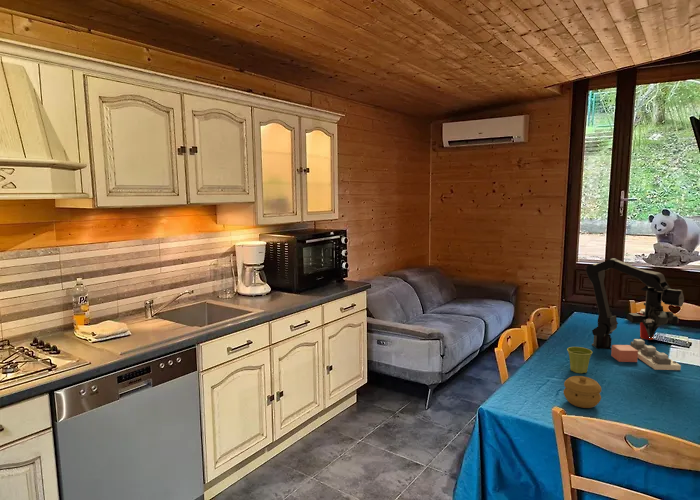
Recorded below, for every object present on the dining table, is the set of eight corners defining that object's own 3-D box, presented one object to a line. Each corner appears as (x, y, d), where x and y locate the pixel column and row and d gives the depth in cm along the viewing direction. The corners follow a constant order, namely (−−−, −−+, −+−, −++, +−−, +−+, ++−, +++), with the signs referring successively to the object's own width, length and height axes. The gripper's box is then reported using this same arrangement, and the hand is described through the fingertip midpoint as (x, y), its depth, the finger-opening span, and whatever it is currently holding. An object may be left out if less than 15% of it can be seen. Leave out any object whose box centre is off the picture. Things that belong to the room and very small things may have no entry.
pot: (604, 414, 159) (606, 385, 158) (565, 410, 162) (567, 381, 161) (596, 399, 170) (598, 372, 169) (560, 395, 173) (561, 369, 172)
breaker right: (659, 360, 197) (660, 355, 197) (655, 357, 201) (655, 352, 200) (667, 360, 197) (668, 355, 197) (663, 357, 200) (663, 352, 200)
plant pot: (565, 372, 194) (566, 352, 193) (566, 365, 202) (567, 345, 201) (591, 376, 190) (592, 355, 189) (591, 368, 198) (592, 348, 197)
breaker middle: (647, 352, 206) (648, 347, 206) (643, 349, 209) (644, 345, 209) (655, 352, 206) (656, 348, 206) (651, 350, 209) (651, 345, 209)
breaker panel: (654, 369, 197) (655, 360, 196) (625, 349, 220) (626, 341, 220) (680, 370, 196) (681, 360, 195) (648, 350, 220) (649, 341, 219)
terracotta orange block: (619, 361, 206) (620, 350, 205) (611, 355, 213) (611, 344, 212) (637, 362, 205) (638, 350, 204) (628, 355, 212) (629, 345, 212)
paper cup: (659, 340, 233) (661, 312, 231) (643, 340, 233) (645, 312, 231) (649, 335, 241) (651, 308, 239) (634, 335, 241) (636, 308, 239)
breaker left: (637, 345, 215) (637, 341, 215) (633, 343, 218) (633, 338, 218) (644, 345, 215) (644, 341, 215) (640, 343, 218) (641, 339, 218)
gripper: (640, 306, 198) (637, 343, 200) (688, 307, 196) (684, 343, 198) (627, 300, 209) (624, 334, 211) (672, 300, 207) (668, 335, 209)
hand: (650, 337), depth 207 cm, fingers closed
